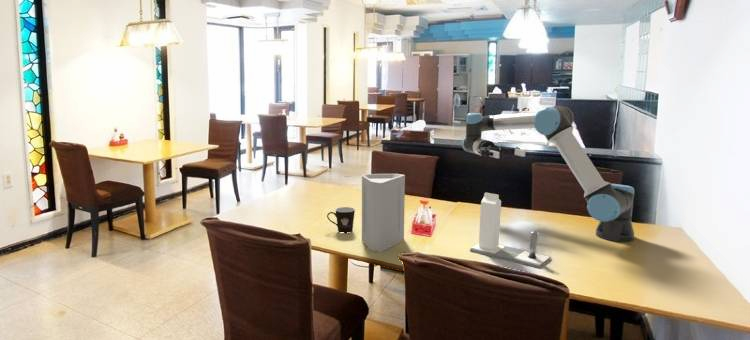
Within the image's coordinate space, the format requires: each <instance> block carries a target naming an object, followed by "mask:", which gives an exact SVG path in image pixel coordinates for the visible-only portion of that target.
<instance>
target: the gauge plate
mask: <svg viewBox="0 0 750 340" xmlns="http://www.w3.org/2000/svg"><path fill="white" fill-rule="evenodd" d="M469 251H470V252H473V253H475V254H481V255H484V256H489V257H493V258H496V259H500V260H505V261H509V262H512V263H516V264H519V265H520V264H521V265H524V266H529V267H533V268H537V269H540V268H541V267H542V266H544V265H545V264H547V263H548V262H549V261H550V260H551V259H552V256H551V255H546V254H543V253H542V254H541V253H538V252H536V258H530V257H529V250H524V249H520V248H517V247H511V246H506V245H503V244H499V246H498V247H496V248H495V249H494V250H489V249H485V248H481V247H479V243H477V244H475V245H474V246H471V248H469Z"/></svg>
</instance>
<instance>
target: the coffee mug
mask: <svg viewBox="0 0 750 340" xmlns="http://www.w3.org/2000/svg"><path fill="white" fill-rule="evenodd" d="M355 211H356V209H355V207H350V206H340V207H337V208H335V212H334V211H330V212H328V213H327V215H326V218H327V219H328V221H329V222H331V223H332V224H334V225H335V226H336V228H337V232H338V231H339V232H344V233H343V234H348V233H347V232H351V233H352V232H353V227H354V220H355ZM330 214H333V215H334V217H336V222H335V221H333V220H331V219H330V218H329V215H330ZM339 232H338V233H339Z"/></svg>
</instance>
